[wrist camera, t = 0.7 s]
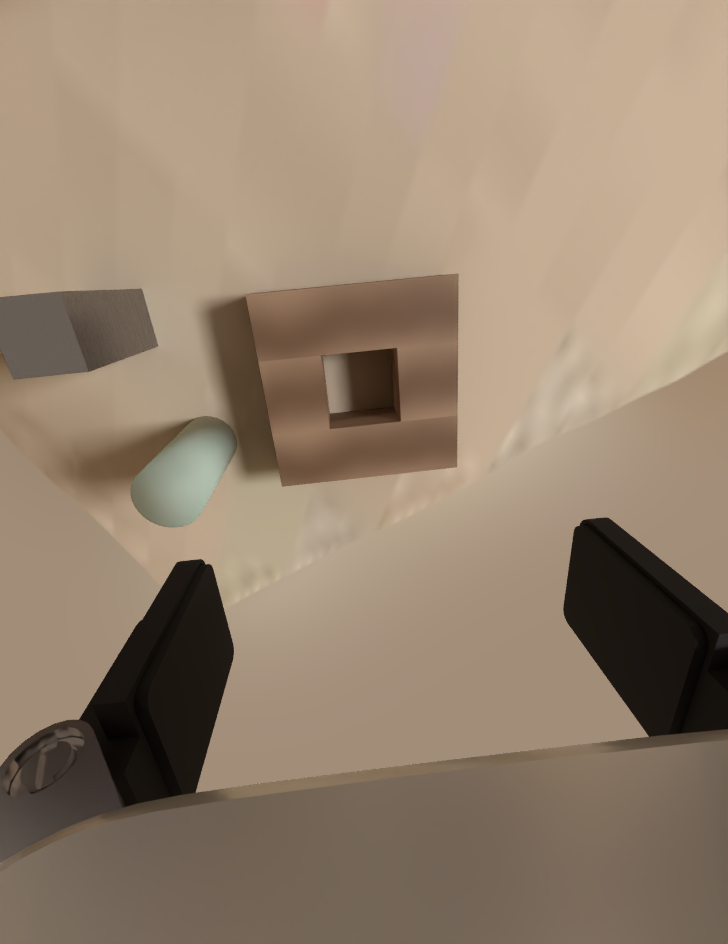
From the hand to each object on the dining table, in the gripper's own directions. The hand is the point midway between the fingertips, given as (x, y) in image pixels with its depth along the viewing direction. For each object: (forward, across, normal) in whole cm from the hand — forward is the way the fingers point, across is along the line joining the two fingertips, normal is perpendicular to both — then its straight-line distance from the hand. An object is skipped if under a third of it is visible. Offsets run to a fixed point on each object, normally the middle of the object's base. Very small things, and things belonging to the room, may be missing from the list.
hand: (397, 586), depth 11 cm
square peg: (+25, +17, -7) cm, 31 cm away
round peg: (+25, +12, +3) cm, 29 cm away
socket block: (+25, 0, -1) cm, 25 cm away
